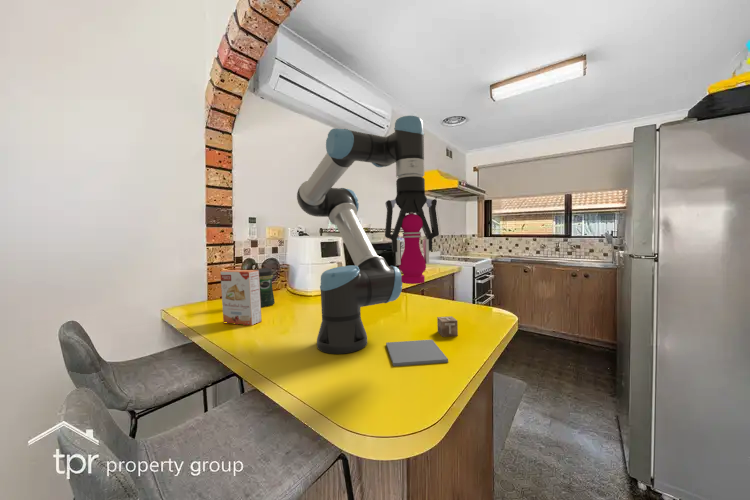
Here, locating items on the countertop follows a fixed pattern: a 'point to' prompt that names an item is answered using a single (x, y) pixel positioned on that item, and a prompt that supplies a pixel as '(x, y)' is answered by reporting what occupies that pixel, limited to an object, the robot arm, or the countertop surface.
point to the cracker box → (241, 296)
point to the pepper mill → (412, 251)
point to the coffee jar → (266, 287)
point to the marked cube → (447, 326)
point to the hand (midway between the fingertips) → (412, 263)
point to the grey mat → (415, 353)
